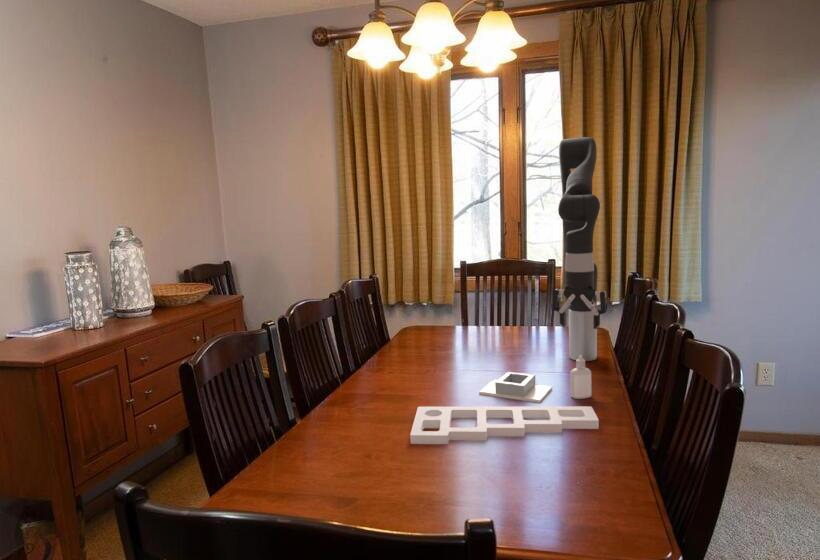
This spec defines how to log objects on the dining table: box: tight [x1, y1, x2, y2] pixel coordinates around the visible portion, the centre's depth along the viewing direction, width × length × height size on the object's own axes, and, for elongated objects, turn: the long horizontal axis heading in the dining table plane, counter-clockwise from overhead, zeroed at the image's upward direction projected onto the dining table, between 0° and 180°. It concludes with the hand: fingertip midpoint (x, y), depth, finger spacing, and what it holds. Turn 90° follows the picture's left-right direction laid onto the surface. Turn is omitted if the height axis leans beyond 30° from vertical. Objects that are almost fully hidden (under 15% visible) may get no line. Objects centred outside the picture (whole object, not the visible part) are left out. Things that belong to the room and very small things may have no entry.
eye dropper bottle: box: [569, 355, 592, 400], centre depth 153 cm, size 4×6×12 cm
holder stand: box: [478, 371, 553, 404], centre depth 160 cm, size 12×18×4 cm, turn 60°
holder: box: [409, 405, 600, 445], centre depth 135 cm, size 45×18×3 cm, turn 83°
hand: (579, 327), depth 151 cm, fingers open, 8 cm apart
